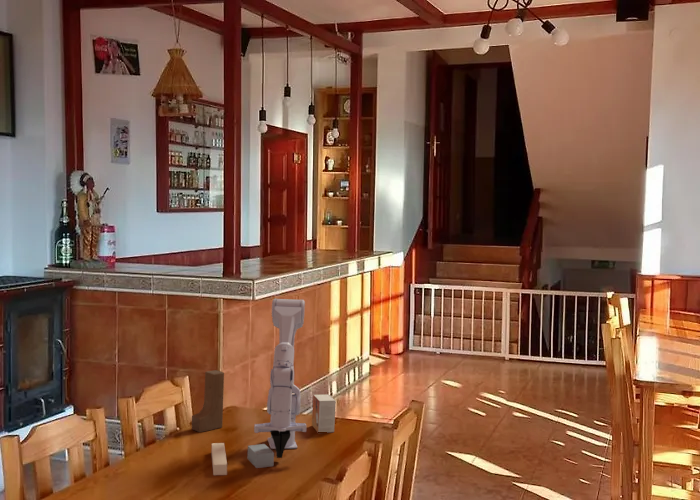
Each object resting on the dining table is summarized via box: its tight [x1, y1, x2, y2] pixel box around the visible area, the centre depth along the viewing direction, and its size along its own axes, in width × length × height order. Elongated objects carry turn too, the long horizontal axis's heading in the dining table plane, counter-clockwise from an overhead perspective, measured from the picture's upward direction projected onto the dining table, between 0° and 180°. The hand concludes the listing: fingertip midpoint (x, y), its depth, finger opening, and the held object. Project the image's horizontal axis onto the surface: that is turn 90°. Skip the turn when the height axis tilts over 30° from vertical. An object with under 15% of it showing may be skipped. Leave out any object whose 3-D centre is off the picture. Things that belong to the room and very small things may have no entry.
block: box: [246, 443, 275, 469], centre depth 214 cm, size 8×5×4 cm, turn 25°
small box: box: [311, 393, 337, 433], centre depth 247 cm, size 8×6×10 cm
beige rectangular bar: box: [211, 442, 228, 476], centre depth 212 cm, size 18×4×3 cm, turn 12°
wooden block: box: [191, 369, 225, 433], centre depth 242 cm, size 9×4×18 cm, turn 136°
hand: (279, 456), depth 215 cm, fingers closed
